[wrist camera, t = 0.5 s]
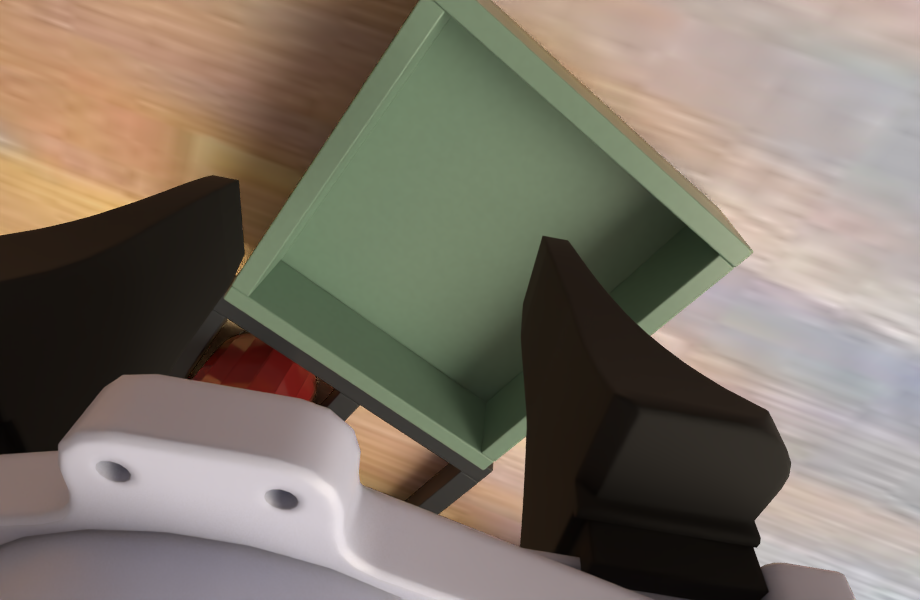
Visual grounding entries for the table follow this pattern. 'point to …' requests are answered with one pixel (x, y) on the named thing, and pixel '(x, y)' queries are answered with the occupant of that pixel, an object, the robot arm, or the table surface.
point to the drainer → (343, 404)
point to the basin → (471, 225)
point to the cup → (257, 369)
